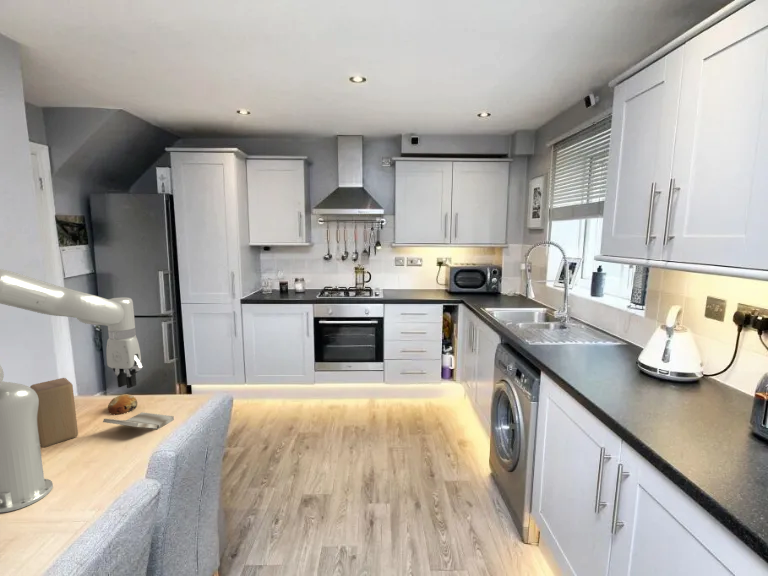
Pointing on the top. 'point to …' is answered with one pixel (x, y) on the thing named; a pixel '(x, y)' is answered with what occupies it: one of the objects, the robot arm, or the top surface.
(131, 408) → the blueberry muffin
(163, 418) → the laid board
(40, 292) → the robot arm
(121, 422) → the loose plank
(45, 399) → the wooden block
